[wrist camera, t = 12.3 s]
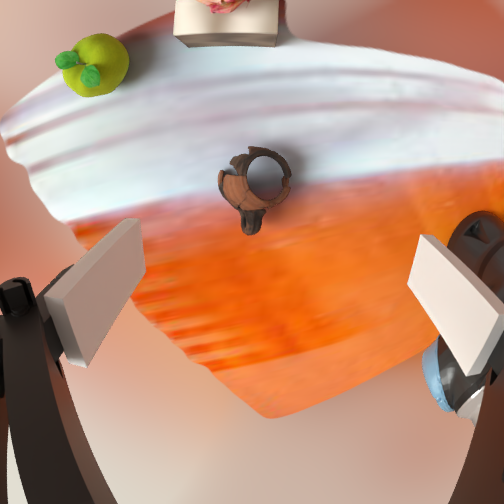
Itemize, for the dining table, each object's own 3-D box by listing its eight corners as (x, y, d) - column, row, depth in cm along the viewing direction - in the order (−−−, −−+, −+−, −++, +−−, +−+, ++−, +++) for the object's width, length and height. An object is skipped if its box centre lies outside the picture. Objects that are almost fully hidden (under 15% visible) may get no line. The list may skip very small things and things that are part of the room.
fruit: (114, 108, 40) (79, 110, 30) (77, 78, 37) (39, 76, 28) (151, 60, 36) (123, 49, 27) (111, 31, 34) (78, 18, 25)
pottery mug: (211, 152, 43) (231, 142, 36) (269, 152, 47) (298, 144, 39) (215, 235, 45) (236, 241, 38) (273, 229, 49) (302, 234, 41)
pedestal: (277, -22, 30) (280, -46, 23) (275, 47, 36) (277, 33, 28) (194, -21, 31) (181, -43, 23) (188, 47, 36) (173, 34, 28)
